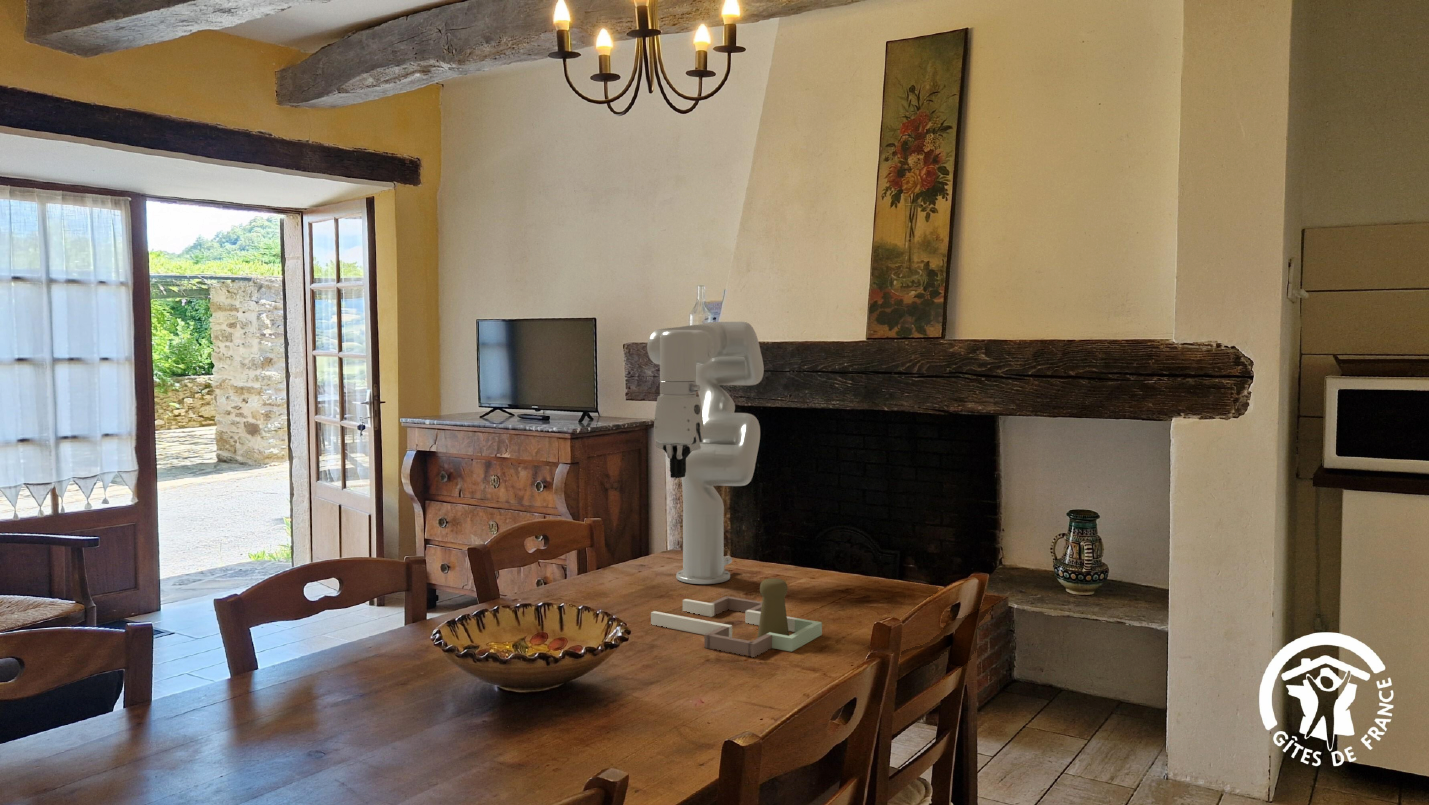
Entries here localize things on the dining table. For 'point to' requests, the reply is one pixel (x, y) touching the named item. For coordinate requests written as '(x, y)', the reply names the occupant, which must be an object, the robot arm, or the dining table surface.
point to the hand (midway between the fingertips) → (677, 477)
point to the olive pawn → (773, 607)
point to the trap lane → (722, 633)
